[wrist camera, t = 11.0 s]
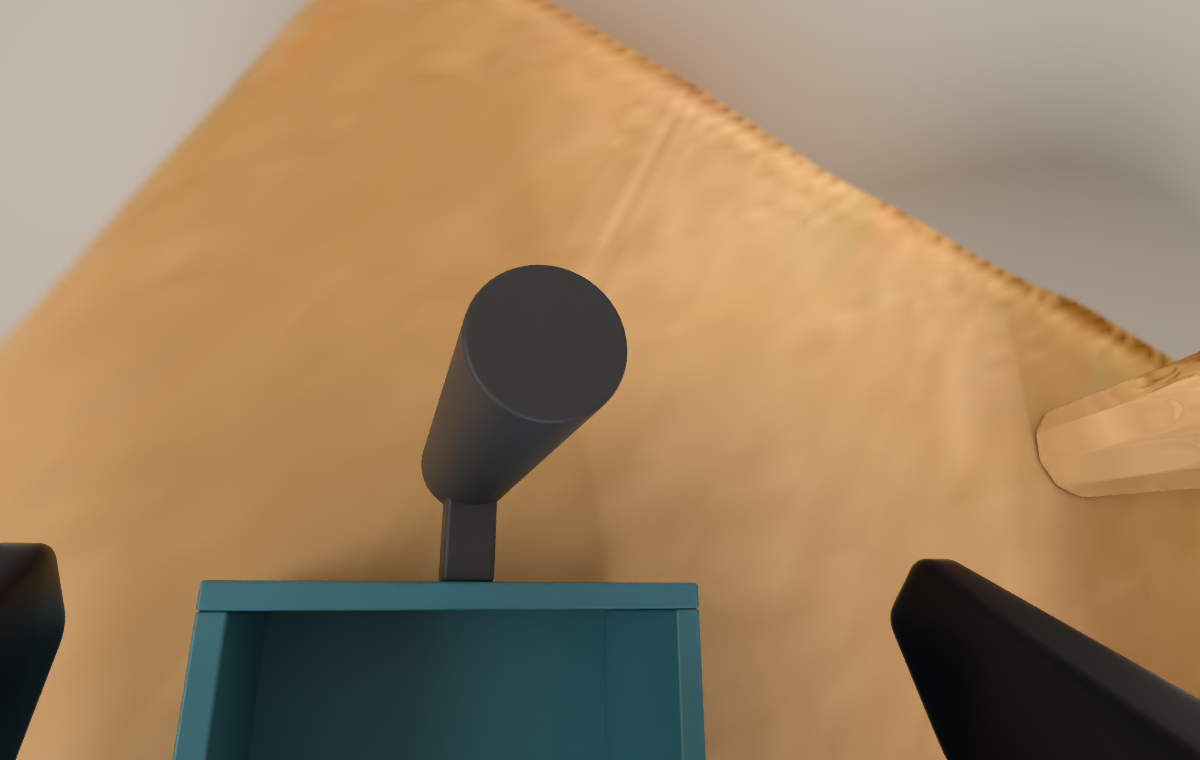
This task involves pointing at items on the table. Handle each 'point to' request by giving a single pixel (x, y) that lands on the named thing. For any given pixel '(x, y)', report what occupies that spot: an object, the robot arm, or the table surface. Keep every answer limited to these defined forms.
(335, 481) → the table surface
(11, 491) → the table surface
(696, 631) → the drawer
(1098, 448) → the milkshake
